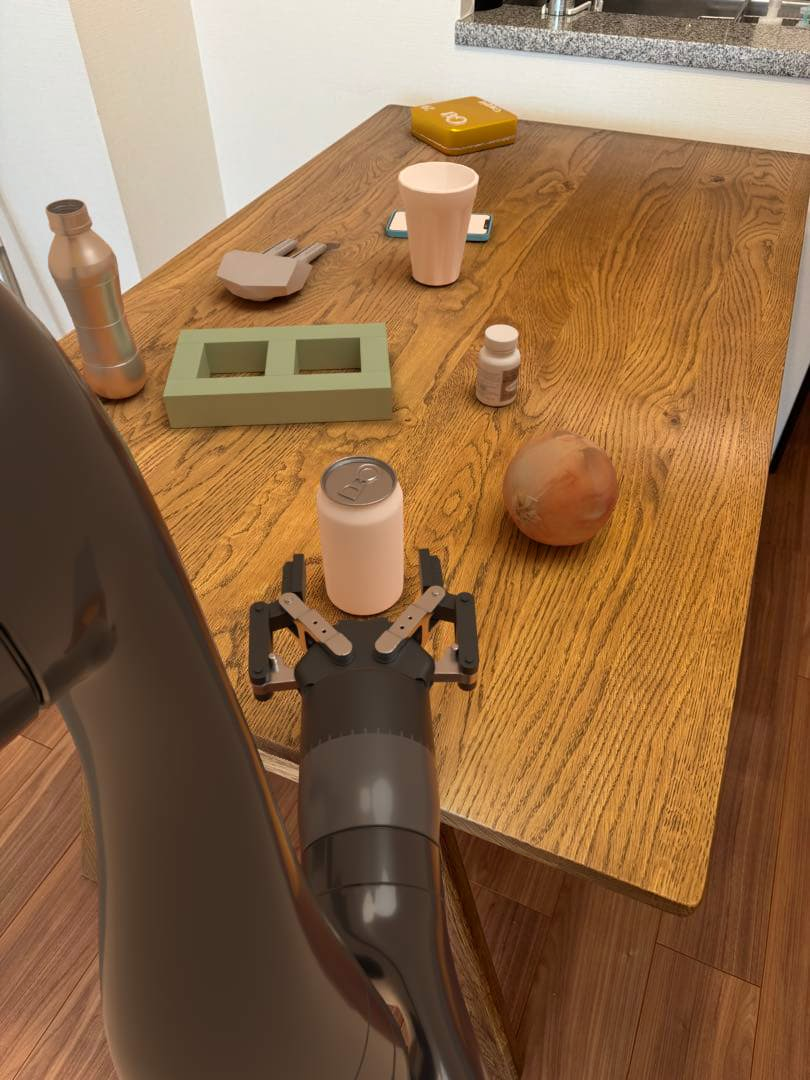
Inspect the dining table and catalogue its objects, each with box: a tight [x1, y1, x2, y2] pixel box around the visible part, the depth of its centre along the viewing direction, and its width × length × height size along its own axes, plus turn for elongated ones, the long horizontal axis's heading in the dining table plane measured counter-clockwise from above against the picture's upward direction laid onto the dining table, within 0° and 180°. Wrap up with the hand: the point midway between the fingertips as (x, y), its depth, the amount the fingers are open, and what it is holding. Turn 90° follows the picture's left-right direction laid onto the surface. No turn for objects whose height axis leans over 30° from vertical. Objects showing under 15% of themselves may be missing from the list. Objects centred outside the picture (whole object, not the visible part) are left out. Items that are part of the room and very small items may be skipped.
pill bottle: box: [475, 323, 522, 407], centre depth 82 cm, size 4×4×8 cm
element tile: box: [410, 95, 519, 157], centre depth 141 cm, size 15×15×5 cm
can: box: [316, 454, 405, 616], centre depth 61 cm, size 6×6×12 cm
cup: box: [397, 161, 480, 286], centre depth 100 cm, size 10×10×13 cm
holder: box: [162, 322, 393, 429], centre depth 85 cm, size 13×23×4 cm, turn 94°
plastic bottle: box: [44, 198, 148, 400], centre depth 79 cm, size 6×7×20 cm
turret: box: [215, 238, 327, 302], centre depth 103 cm, size 10×20×5 cm, turn 163°
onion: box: [502, 428, 619, 547], centre depth 67 cm, size 10×10×10 cm
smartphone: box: [385, 209, 494, 242], centre depth 115 cm, size 8×1×15 cm
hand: (361, 559), depth 54 cm, fingers open, 8 cm apart
